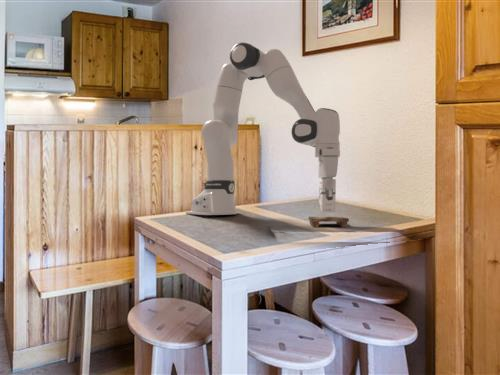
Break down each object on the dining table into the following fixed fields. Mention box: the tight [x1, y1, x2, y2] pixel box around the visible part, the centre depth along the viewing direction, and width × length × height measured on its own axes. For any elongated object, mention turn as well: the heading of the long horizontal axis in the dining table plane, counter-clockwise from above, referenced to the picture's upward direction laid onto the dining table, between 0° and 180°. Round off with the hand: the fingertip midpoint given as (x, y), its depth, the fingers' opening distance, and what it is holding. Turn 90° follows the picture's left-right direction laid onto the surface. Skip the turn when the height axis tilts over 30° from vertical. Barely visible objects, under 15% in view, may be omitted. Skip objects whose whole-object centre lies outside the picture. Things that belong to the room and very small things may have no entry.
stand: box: [308, 216, 350, 228], centre depth 164 cm, size 13×11×3 cm
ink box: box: [318, 178, 337, 213], centre depth 164 cm, size 9×5×12 cm, turn 0°
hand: (326, 190), depth 164 cm, fingers closed on ink box, 8 cm apart
